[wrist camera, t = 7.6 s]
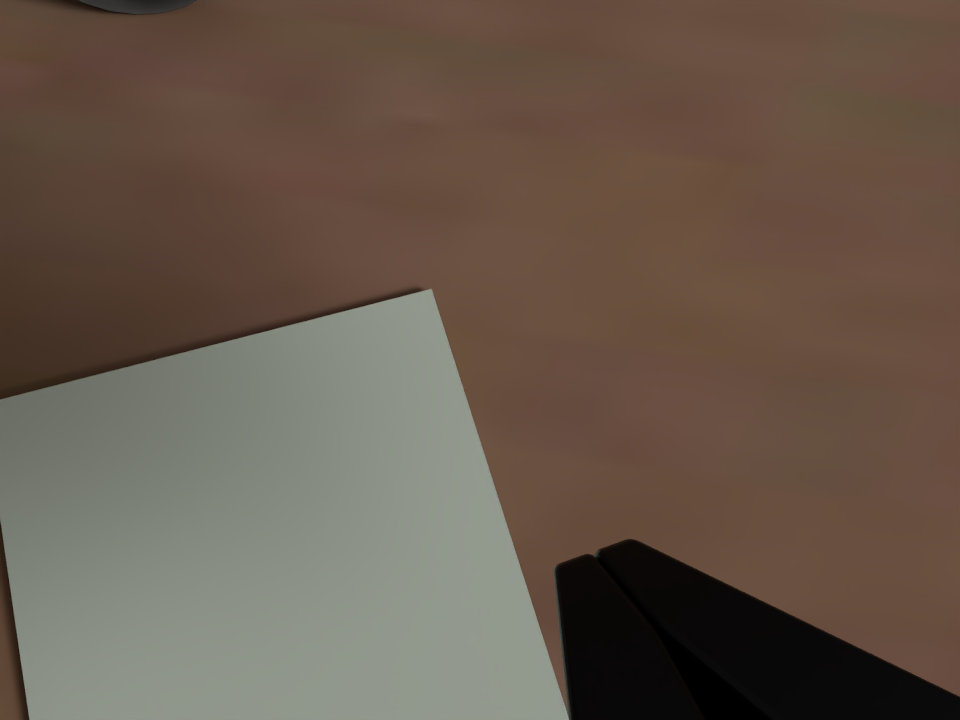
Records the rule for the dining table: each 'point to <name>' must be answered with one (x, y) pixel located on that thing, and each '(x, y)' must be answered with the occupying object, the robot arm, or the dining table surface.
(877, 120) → the dining table surface
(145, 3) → the beverage cup
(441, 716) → the mat
